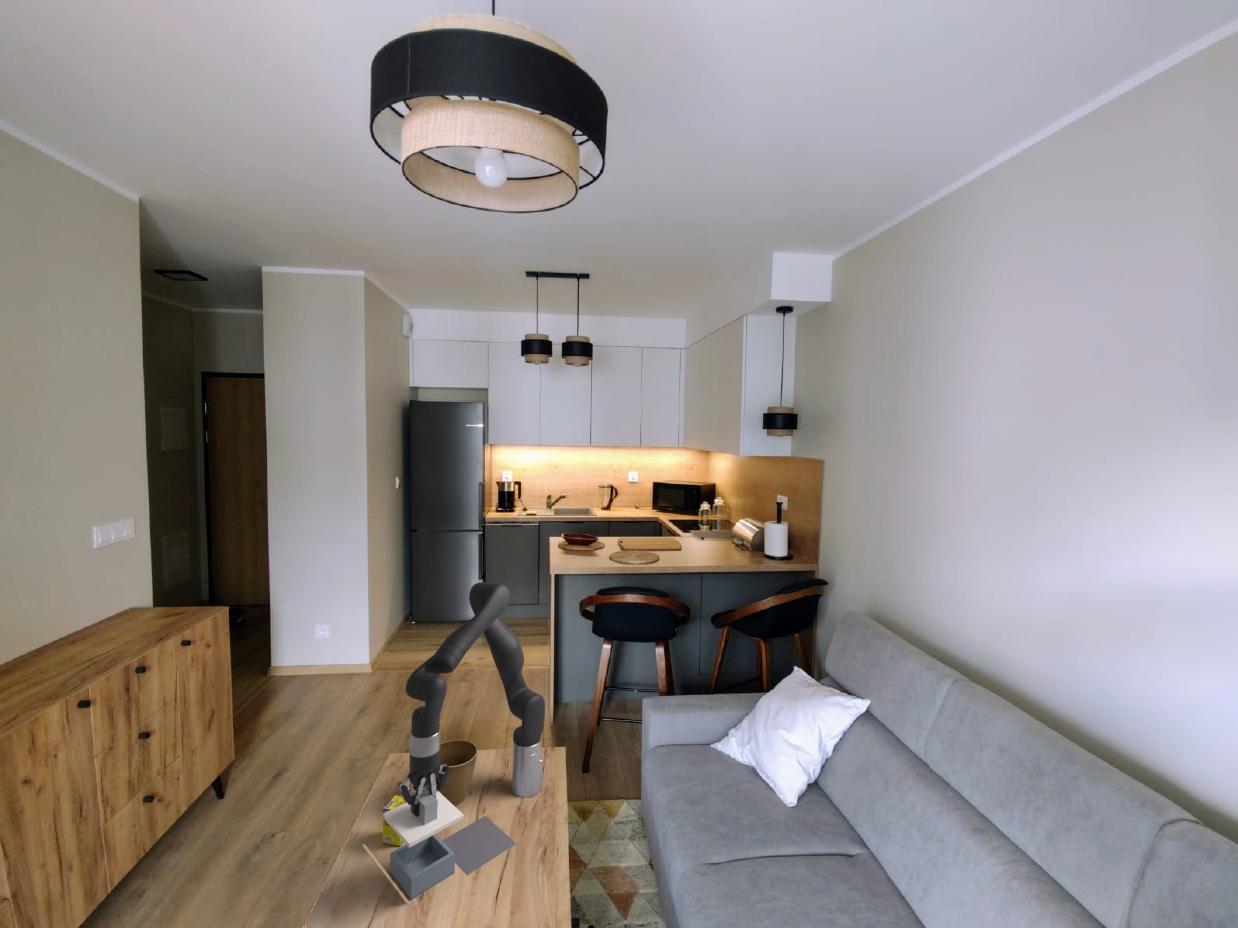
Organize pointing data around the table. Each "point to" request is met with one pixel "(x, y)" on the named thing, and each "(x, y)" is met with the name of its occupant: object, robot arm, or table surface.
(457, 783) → the plant pot
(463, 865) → the mat
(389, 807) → the supplement box
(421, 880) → the grey storage bin
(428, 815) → the lid
